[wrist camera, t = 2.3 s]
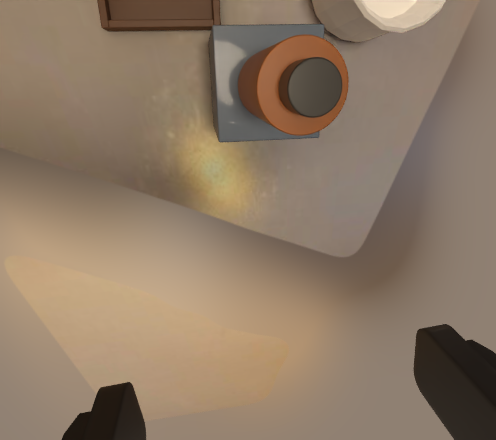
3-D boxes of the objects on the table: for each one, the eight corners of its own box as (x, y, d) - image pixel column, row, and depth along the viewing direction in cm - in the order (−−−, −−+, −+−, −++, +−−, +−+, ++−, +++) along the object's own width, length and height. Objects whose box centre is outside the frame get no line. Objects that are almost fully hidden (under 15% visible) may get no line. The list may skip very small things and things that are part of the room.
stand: (213, 127, 36) (218, 142, 27) (208, 40, 33) (212, 25, 24) (289, 123, 37) (319, 137, 28) (290, 39, 34) (324, 23, 25)
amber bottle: (238, 120, 27) (263, 144, 17) (236, 50, 25) (262, 28, 15) (300, 117, 27) (361, 139, 17) (302, 49, 25) (371, 27, 15)
